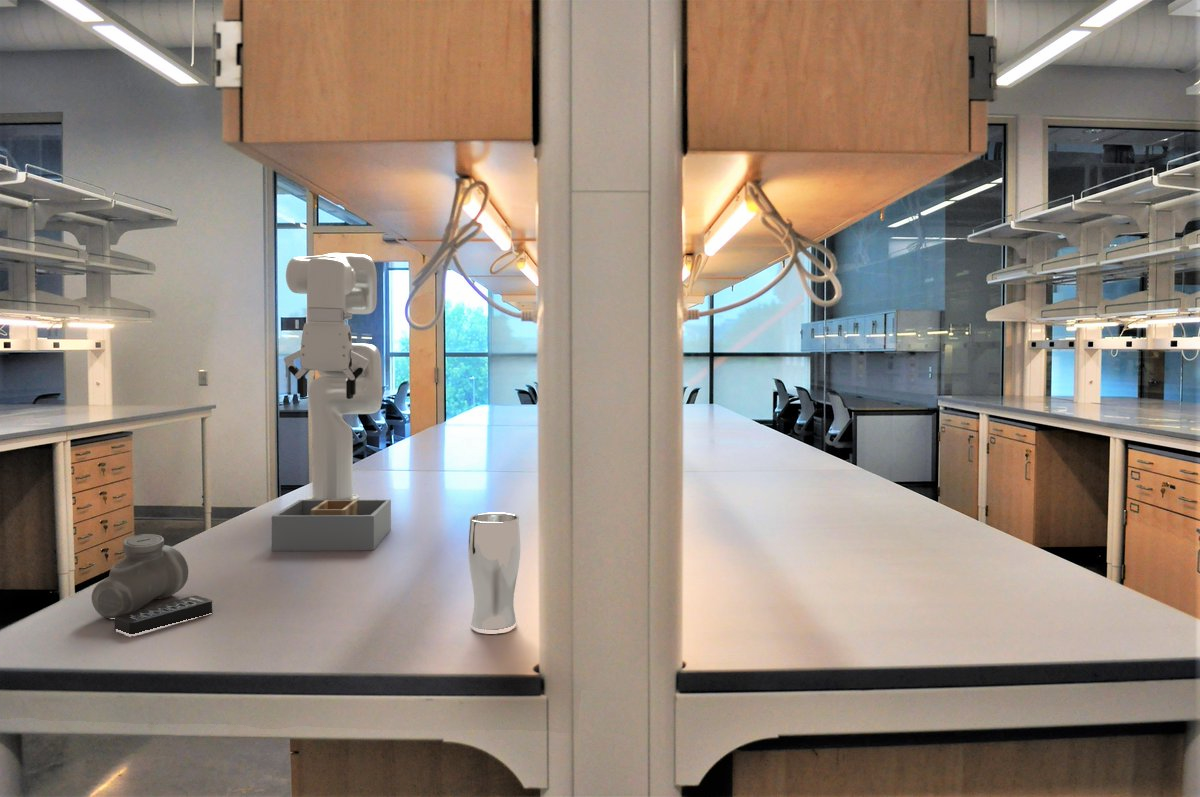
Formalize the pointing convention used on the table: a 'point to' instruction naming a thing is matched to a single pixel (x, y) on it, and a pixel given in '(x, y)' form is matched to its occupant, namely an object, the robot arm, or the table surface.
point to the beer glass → (494, 568)
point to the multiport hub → (163, 614)
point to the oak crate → (336, 508)
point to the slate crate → (330, 527)
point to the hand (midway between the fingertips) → (326, 397)
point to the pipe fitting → (140, 576)
